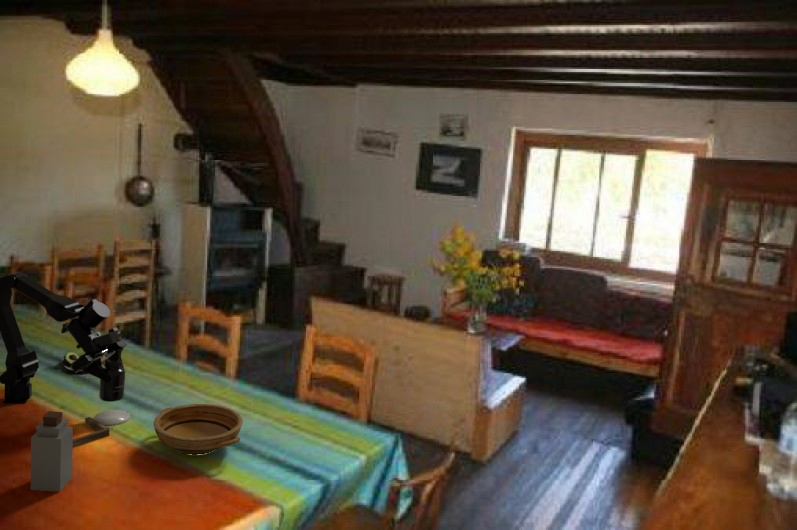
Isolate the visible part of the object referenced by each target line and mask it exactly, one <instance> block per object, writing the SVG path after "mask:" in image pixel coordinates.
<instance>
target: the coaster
mask: <svg viewBox="0 0 797 530" xmlns="http://www.w3.org/2000/svg"><path fill="white" fill-rule="evenodd" d="M93 419H94V420H96V421H98V422H99V423H101V424H103V425H105V426H116V425H115V424H118V425H122V424H124V422H125V423H127V422H128V421H129V420H130V419H131V413H129V412H128V411H124V410H121V409H110V410H104V411H101V412H98V413H96V414H95V415H94V417H93ZM126 421H127V422H126ZM121 423H122V424H121Z"/></svg>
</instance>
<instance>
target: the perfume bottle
mask: <svg viewBox="0 0 797 530" xmlns="http://www.w3.org/2000/svg"><path fill="white" fill-rule="evenodd" d="M63 414H64V413H63V411H51V410H48V411H47V412H46V413H45V414H44V415H43V416H42V421H41V422H40V423H39V424H37V425H36V426H35V430H36V432H35V433H34V434H33V435H32V436H30V490H31V491H42V492H44V491H45V492H58V493H60V492H62V491H63V489H64V488H65V487H66V485H67V484H68V483H69V482H70V480H71V479H72V478H73V448H74V447H73V439H74V438H73V435H74V434H73V433H74V427H73V426H68V424H69V421H70V419H68V418H63Z"/></svg>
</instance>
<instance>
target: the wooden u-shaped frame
mask: <svg viewBox="0 0 797 530" xmlns="http://www.w3.org/2000/svg"><path fill="white" fill-rule="evenodd" d="M85 423H86V424H87V426H88V425H89V427H90V428H92V429H94V430H95V429H96V431H95V432H91V433H88V434H85V435H82V436H78V437H75V438H73V448H76V447H79V446H81V445H84V444H88V443H91V442H95V441H96V440H100V439H103V438H106V437H109V436H110V430H111V429H110V427H109V426H108V425H103V424H101V423H99V422H98V421H96V420H94V418H92V417H90V416H86V417H85V418H84V424H85ZM86 424H85V425H86ZM97 430H98V431H97Z"/></svg>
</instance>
